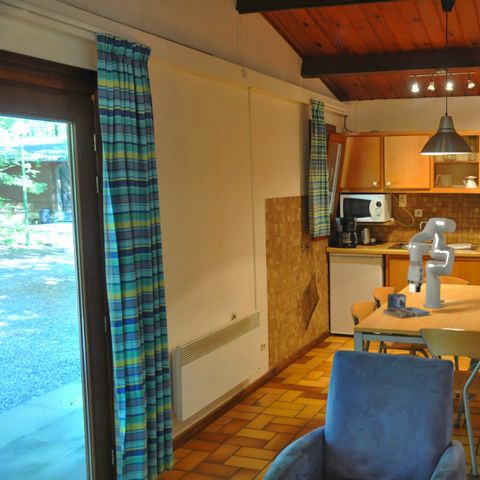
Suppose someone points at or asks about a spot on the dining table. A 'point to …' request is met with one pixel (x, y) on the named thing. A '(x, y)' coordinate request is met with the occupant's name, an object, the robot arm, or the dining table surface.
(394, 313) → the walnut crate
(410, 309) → the charcoal tray
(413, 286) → the letter cube
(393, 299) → the small box
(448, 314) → the dining table surface
